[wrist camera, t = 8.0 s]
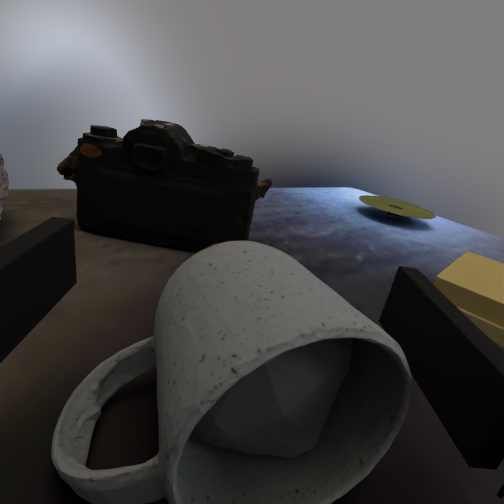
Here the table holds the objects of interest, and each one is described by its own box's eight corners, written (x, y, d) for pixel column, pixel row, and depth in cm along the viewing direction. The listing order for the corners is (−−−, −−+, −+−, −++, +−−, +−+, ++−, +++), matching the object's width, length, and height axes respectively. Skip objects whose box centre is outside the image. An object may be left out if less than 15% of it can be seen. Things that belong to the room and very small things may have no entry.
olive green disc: (438, 223, 54) (443, 212, 53) (419, 236, 45) (425, 222, 45) (371, 203, 60) (374, 192, 59) (344, 210, 51) (347, 198, 51)
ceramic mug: (282, 348, 19) (310, 221, 16) (375, 499, 12) (457, 324, 9) (70, 377, 15) (56, 215, 12) (33, 621, 8) (-23, 389, 5)
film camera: (242, 216, 41) (255, 129, 37) (269, 261, 30) (292, 146, 26) (80, 201, 36) (76, 101, 32) (43, 249, 25) (30, 106, 21)
